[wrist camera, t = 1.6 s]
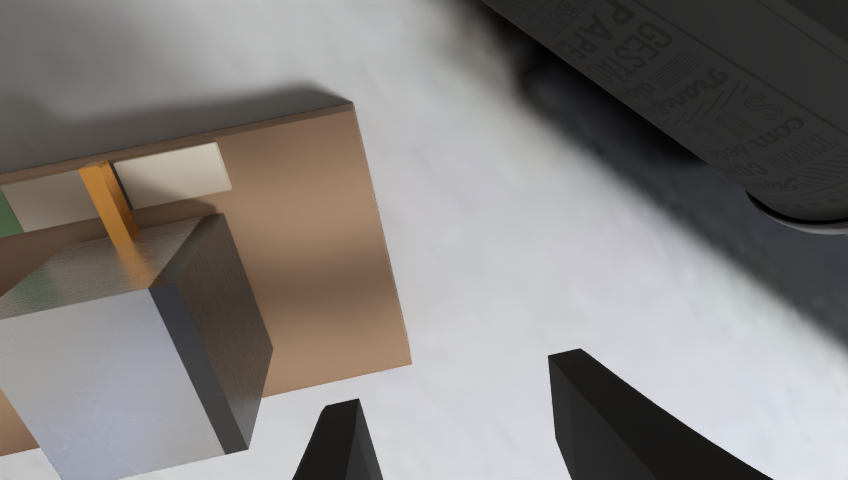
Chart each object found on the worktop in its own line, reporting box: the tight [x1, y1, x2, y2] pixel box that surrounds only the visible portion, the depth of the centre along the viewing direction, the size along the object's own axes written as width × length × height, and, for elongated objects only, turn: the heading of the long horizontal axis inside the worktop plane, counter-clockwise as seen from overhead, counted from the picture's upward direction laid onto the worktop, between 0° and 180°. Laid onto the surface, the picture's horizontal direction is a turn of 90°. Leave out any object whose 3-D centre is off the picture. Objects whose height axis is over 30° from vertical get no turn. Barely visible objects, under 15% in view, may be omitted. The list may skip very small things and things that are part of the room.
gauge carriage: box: [0, 160, 274, 480], centre depth 14 cm, size 7×5×4 cm, turn 10°
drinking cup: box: [481, 0, 848, 234], centre depth 14 cm, size 8×8×20 cm
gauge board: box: [0, 103, 412, 456], centre depth 15 cm, size 9×18×6 cm, turn 100°
